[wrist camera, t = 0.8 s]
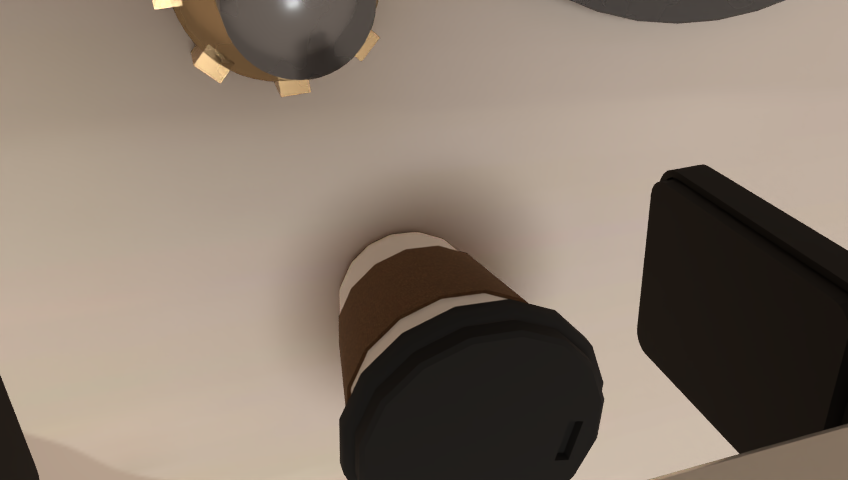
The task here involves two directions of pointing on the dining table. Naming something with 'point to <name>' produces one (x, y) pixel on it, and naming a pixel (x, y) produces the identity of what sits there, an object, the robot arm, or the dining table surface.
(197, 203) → the dining table surface
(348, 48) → the gear
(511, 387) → the coffee cup
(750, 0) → the carrier plate
